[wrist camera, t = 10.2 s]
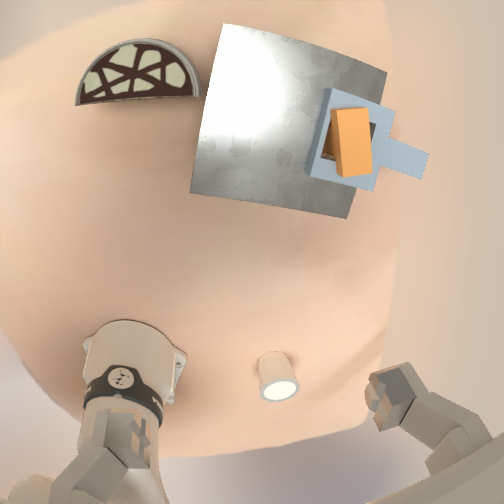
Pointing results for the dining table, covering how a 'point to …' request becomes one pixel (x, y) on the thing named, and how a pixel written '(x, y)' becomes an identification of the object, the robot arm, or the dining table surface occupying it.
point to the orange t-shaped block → (349, 141)
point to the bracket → (382, 146)
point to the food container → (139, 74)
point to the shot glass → (276, 377)
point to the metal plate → (273, 120)
